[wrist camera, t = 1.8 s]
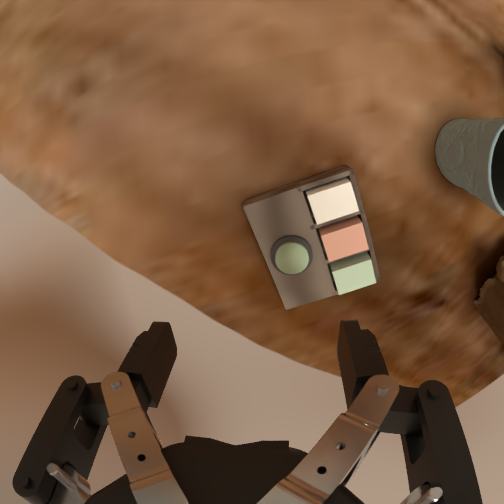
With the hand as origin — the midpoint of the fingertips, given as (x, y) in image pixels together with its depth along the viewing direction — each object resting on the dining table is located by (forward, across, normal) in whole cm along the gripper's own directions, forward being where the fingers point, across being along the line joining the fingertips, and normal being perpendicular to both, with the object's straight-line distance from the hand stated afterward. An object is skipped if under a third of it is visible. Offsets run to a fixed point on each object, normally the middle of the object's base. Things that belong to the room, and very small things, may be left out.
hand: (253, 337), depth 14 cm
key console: (+23, -6, +4) cm, 24 cm away
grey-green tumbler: (+23, -25, -7) cm, 34 cm away
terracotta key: (+21, -8, +3) cm, 23 cm away
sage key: (+21, -10, +7) cm, 24 cm away
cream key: (+21, -7, -1) cm, 22 cm away
